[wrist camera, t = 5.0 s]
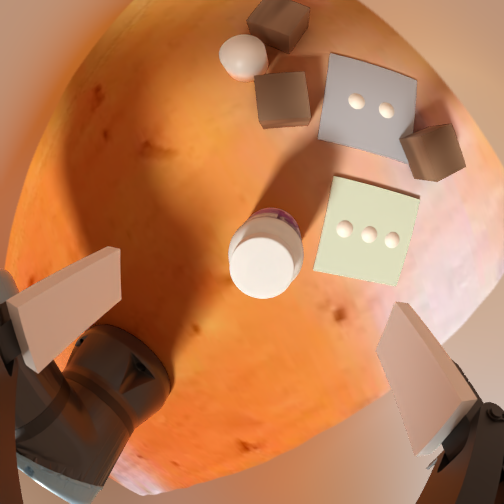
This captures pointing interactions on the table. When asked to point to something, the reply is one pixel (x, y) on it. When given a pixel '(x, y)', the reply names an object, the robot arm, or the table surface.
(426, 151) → the cube
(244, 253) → the pill bottle
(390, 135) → the pad two
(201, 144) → the table surface
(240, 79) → the white cap
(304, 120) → the cube
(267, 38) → the cube
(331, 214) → the pad three
